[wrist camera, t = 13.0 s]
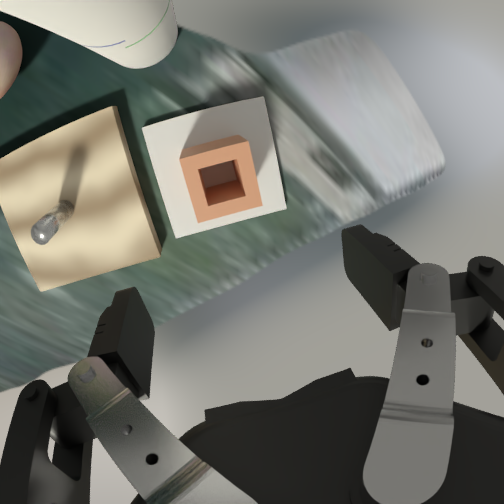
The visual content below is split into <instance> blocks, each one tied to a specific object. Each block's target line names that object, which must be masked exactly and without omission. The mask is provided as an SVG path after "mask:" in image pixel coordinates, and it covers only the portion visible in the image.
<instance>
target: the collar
mask: <svg viewBox="0 0 504 504" xmlns="http://www.w3.org/2000/svg"><path fill="white" fill-rule="evenodd" d="M231 160H232V162H233V166H234V170H235V174H236V179H237V180H234V181H230V182H226V183H222V184H219V185H215V186H211V187H208V188H205V184H204V180H203V177H202V173H201V168H205V167H208V166H212V165H216V164H219V163H223V162H227V161H231ZM179 161H180V164H181V168H182V171H183V175H184V178H185V182H186V185H187V188H188V192H189V195H190V199H191V202H192V205H193V209H194V212H195V215H196V219H197V222H198V223H201V222H204V221H208V220H212V219H215V218H219V217H222V216H226V215H230V214H234V213H237V212H241V211H245V210H248V209H252V208H256V207H260V206H263V204H262V200H261V195H260V190H259V186H258V181H257V177H256V172H255V168H254V163H253V159H252V155H251V150H250V146H249V141H248V140H246V139H245V138H243V137H242V136H240V135H235V136H231V137H227V138H223V139H219V140H215V141H211V142H207V143H204V144H200V145H196V146H193V147H189V148H186V149H182V152H181V155H180V158H179Z"/></svg>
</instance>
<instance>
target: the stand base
mask: <svg viewBox="0 0 504 504" xmlns="http://www.w3.org/2000/svg"><path fill="white" fill-rule="evenodd" d="M62 200H68V201H70V202H71V203H72V204H73V206H74V214H73V215H72V217H71V218H70V219H69V220H68V221H67V222H66V223H65V224H64V225H63V226H62V227H61V228H60V229H59V230H58V232H57V233H56V234H55V235H54V236H53V237H52V238H51V239H50V240H49V242H48V243H47V244H45V245H39V244H37V243H36V242H35V241H34V240H33V239H32V237H31V228H32V226H33V225H34V224H35V223H36V222H37V221H38V220H40V219H41V218H42V217H43V216H44V215H45V214H46V213H48V212H49V211H50V210H51V209H52V208H53V207H54V206H56V205H57V204H58V203H59V202H60V201H62ZM0 205H1V207H2V210H3V212H4V215H5V217H6V220H7V222H8V225H9V227H10V229H11V232H12V234H13V236H14V239H15V241H16V243H17V245H18V248H19V250H20V252H21V254H22V256H23V258H24V260H25V262H26V264H27V266H28V268H29V270H30V272H31V274H32V276H33V278H34V280H35V282H36V284H37V286H38V288H39V289H40V291H41V292H42V291H45V290H48V289H52V288H55V287H58V286H62V285H65V284H68V283H72V282H75V281H79V280H82V279H85V278H89V277H92V276H95V275H99V274H102V273H106V272H109V271H113V270H116V269H119V268H123V267H126V266H130V265H133V264H137V263H140V262H144V261H147V260H151V259H154V258H158V257H161V251H162V247H161V244H160V242H159V239H158V236H157V233H156V231H155V228H154V225H153V222H152V219H151V216H150V213H149V210H148V208H147V205H146V202H145V199H144V196H143V193H142V189H141V186H140V183H139V180H138V177H137V174H136V171H135V167H134V164H133V161H132V158H131V154H130V151H129V148H128V144H127V141H126V137H125V134H124V130H123V127H122V123H121V120H120V116H119V112H118V108H117V106H111V107H108V108H105V109H103V110H100V111H98V112H95V113H93V114H90V115H88V116H85V117H83V118H81V119H78V120H76V121H74V122H72V123H69V124H67V125H65V126H63V127H60V128H58V129H56V130H54V131H52V132H50V133H48V134H46V135H44V136H42V137H40V138H38V139H36V140H34V141H32V142H30V143H28V144H26V145H24V146H22V147H20V148H19V149H17V150H15V151H13V152H11V153H10V154H8V155H6V156H4V157H2V158H1V159H0Z"/></svg>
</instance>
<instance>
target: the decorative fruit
mask: <svg viewBox="0 0 504 504" xmlns="http://www.w3.org/2000/svg"><path fill="white" fill-rule="evenodd" d="M21 61H22V45H21V41H20V38H19V35H18V34H17V32H16V31H15V29H13V28H12V27H11V26H10V25H8V24H7V23H5V22H2V21H0V99H1V98H2V97H3V96H4V95H5V93H6V92H7V91H8V90H9V88H10V87H11V85H12V84H13V82H14V81H15V79H16V77H17V75H18V72H19V69H20V66H21Z"/></svg>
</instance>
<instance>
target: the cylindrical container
mask: <svg viewBox="0 0 504 504" xmlns="http://www.w3.org/2000/svg"><path fill="white" fill-rule="evenodd" d="M0 11H2V12H5V13H7V14H10V15H12V16H15V17H18V18H20V19H23V20H25V21H27V22H30V23H32V24H35V25H37V26H40V27H42V28H44V29H47V30H49V31H51V32H54V33H56V34H58V35H61V36H63V37H65V38H67V39H70V40H72V41H74V42H76V43H78V44H80V45H82V46H84V47H87V48H89V49H91V50H93V51H95V52H96V53H98V54H100V55H102V56H104V57H106V58H108V59H110V60H112V61H114V62H116V63H118V64H120V65H122V66H125V67H128V68H136V69H138V68H145V67H149V66H152V65H154V64H156V63H158V62H159V61H161V60H162V59H164V58H165V57H166V56H167V55H168V54H169V53H170V51H171V50H172V49H173V47H174V45H175V43H176V39H177V35H178V28H177V22H176V18H175V13H174V8H173V4H172V0H0Z"/></svg>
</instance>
